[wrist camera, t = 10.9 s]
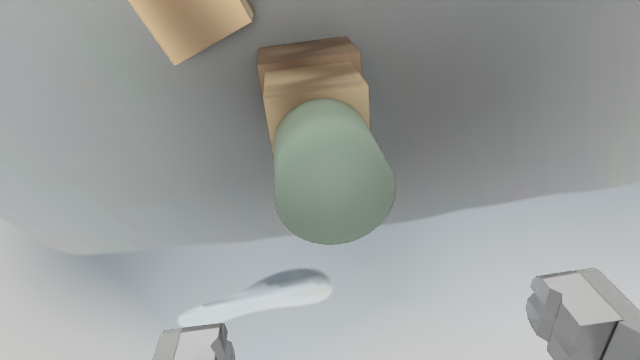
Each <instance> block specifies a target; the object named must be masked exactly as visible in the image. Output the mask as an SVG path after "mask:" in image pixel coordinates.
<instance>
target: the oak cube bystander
mask: <svg viewBox="0 0 640 360" xmlns="http://www.w3.org/2000/svg"><path fill="white" fill-rule="evenodd" d="M128 1H129V2H130V4H131V5H132V7H133V8H134V9H135V11H136V12H137V14H138V15H139V16H140V18H141V19H142V21H143V22H144V24H145V25H146V26H147V28H148V29H149V31H150V32H151V33H152V35H153V36H154V38H155V39H156V40H157V42H158V43H159V45H160V46H161V48H162V49H163V50H164V52H165V53H166V55H167V56H168V57H169V59H170V60H171V62H172V63H173V64H174V66H176V65H178V64H180V63H181V62H183V61H185V60H187V59H188V58H190V57H192V56H193V55H195V54H197V53H199V52H200V51H202V50H204V49H206V48H207V47H209V46H211V45H213V44H214V43H216V42H218V41H219V40H221V39H223V38H225V37H226V36H228V35H230V34H232V33H233V32H235V31H237V30H239V29H240V28H242V27H244V26H245V25H247V24H249V23H251V22H252V19H253V16H254V12H255V10H254V8H253V6H252V4H251V3H250V1H249V0H128Z"/></svg>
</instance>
